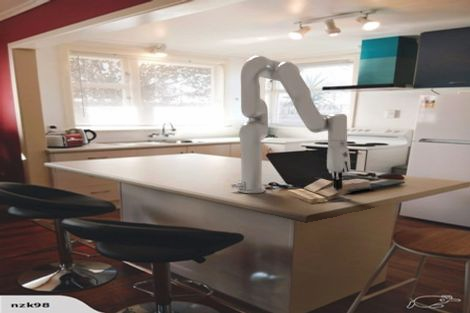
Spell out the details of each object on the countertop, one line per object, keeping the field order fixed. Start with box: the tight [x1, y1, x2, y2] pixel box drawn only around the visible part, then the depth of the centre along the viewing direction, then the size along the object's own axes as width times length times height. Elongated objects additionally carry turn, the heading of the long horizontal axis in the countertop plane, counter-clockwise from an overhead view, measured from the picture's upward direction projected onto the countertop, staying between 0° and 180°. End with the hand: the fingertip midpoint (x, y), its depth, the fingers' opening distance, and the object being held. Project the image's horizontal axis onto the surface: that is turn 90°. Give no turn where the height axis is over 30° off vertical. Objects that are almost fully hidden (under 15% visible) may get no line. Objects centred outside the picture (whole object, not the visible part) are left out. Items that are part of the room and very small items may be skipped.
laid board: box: [286, 188, 328, 204], centre depth 147 cm, size 8×18×2 cm, turn 20°
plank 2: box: [316, 186, 350, 200], centre depth 146 cm, size 10×9×2 cm
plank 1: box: [302, 178, 333, 194], centre depth 154 cm, size 10×9×2 cm
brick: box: [342, 178, 371, 190], centre depth 162 cm, size 17×8×5 cm, turn 119°
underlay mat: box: [297, 195, 351, 204], centre depth 149 cm, size 20×18×1 cm
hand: (337, 188), depth 146 cm, fingers closed
